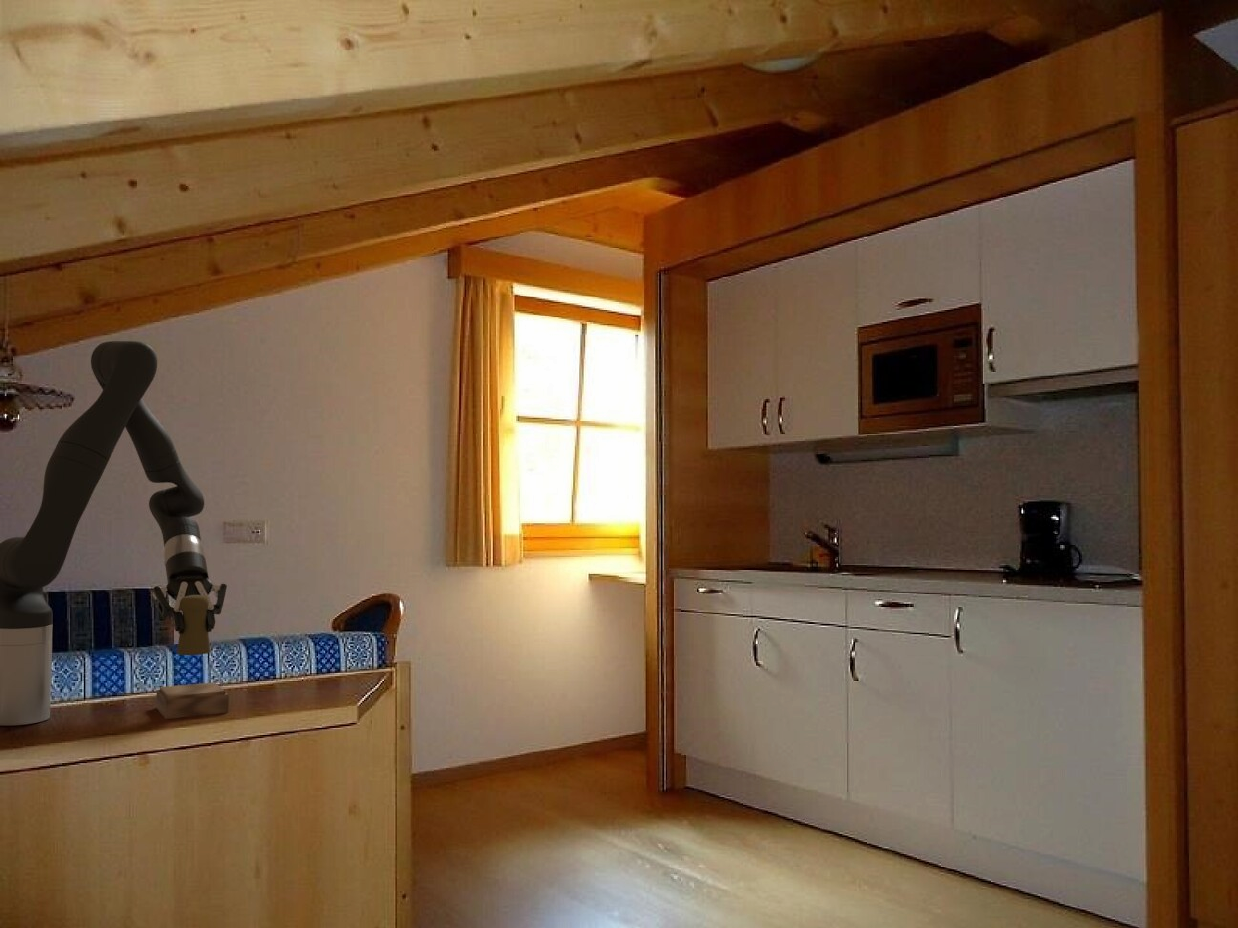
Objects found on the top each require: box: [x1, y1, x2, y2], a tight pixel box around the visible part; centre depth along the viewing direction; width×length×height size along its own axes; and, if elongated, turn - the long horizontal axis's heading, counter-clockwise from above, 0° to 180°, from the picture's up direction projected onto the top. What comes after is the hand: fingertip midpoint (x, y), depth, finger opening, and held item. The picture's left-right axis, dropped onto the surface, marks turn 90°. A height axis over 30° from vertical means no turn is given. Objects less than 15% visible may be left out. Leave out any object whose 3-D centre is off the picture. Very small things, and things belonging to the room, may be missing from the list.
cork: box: [176, 595, 212, 656], centre depth 192 cm, size 6×6×11 cm
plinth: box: [155, 681, 230, 720], centre depth 191 cm, size 11×11×4 cm
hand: (195, 629), depth 190 cm, fingers closed on cork, 4 cm apart
